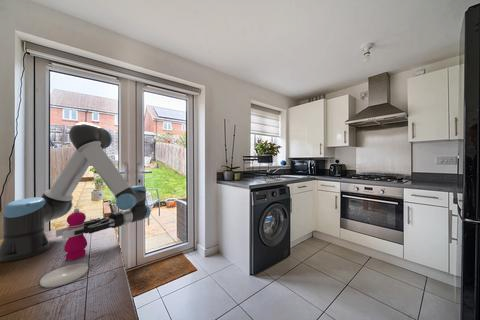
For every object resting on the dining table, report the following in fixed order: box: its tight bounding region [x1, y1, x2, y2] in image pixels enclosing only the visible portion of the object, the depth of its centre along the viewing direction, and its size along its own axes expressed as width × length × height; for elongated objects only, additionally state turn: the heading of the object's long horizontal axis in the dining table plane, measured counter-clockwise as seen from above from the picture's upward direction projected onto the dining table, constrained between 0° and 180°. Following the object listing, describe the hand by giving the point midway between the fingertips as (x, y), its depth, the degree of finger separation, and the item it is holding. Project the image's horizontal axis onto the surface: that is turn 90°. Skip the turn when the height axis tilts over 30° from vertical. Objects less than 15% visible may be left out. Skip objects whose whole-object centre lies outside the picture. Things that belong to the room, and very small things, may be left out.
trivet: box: [39, 263, 89, 289], centre depth 63 cm, size 12×12×1 cm
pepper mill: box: [63, 208, 88, 261], centre depth 76 cm, size 7×7×20 cm
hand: (59, 234), depth 71 cm, fingers closed on pepper mill, 5 cm apart
